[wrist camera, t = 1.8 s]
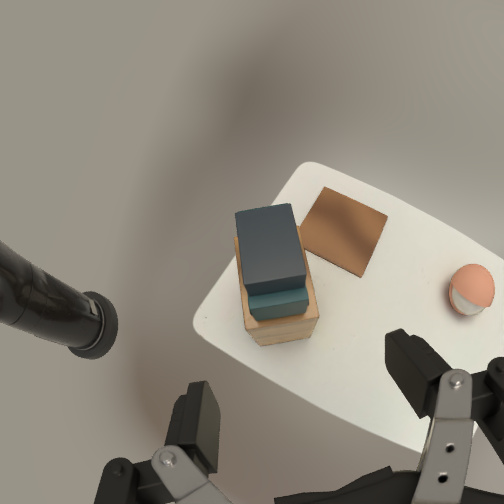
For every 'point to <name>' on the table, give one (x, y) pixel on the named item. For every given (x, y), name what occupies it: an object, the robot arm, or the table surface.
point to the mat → (342, 231)
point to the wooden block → (282, 326)
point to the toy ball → (471, 289)
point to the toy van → (272, 262)
